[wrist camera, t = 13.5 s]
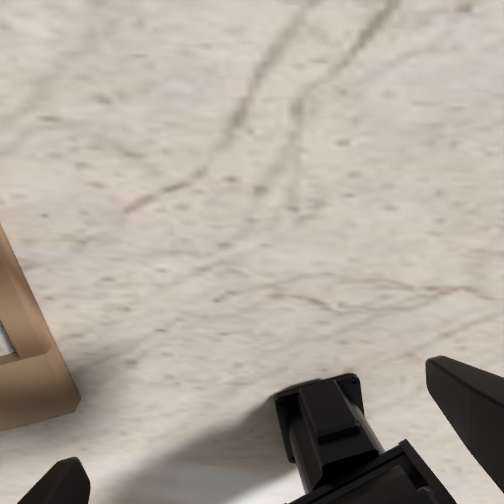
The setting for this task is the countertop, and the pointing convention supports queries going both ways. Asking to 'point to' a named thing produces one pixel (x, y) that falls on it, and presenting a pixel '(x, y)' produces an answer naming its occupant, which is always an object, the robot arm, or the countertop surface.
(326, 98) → the countertop surface
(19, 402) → the socket board
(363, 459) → the robot arm
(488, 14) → the countertop surface
